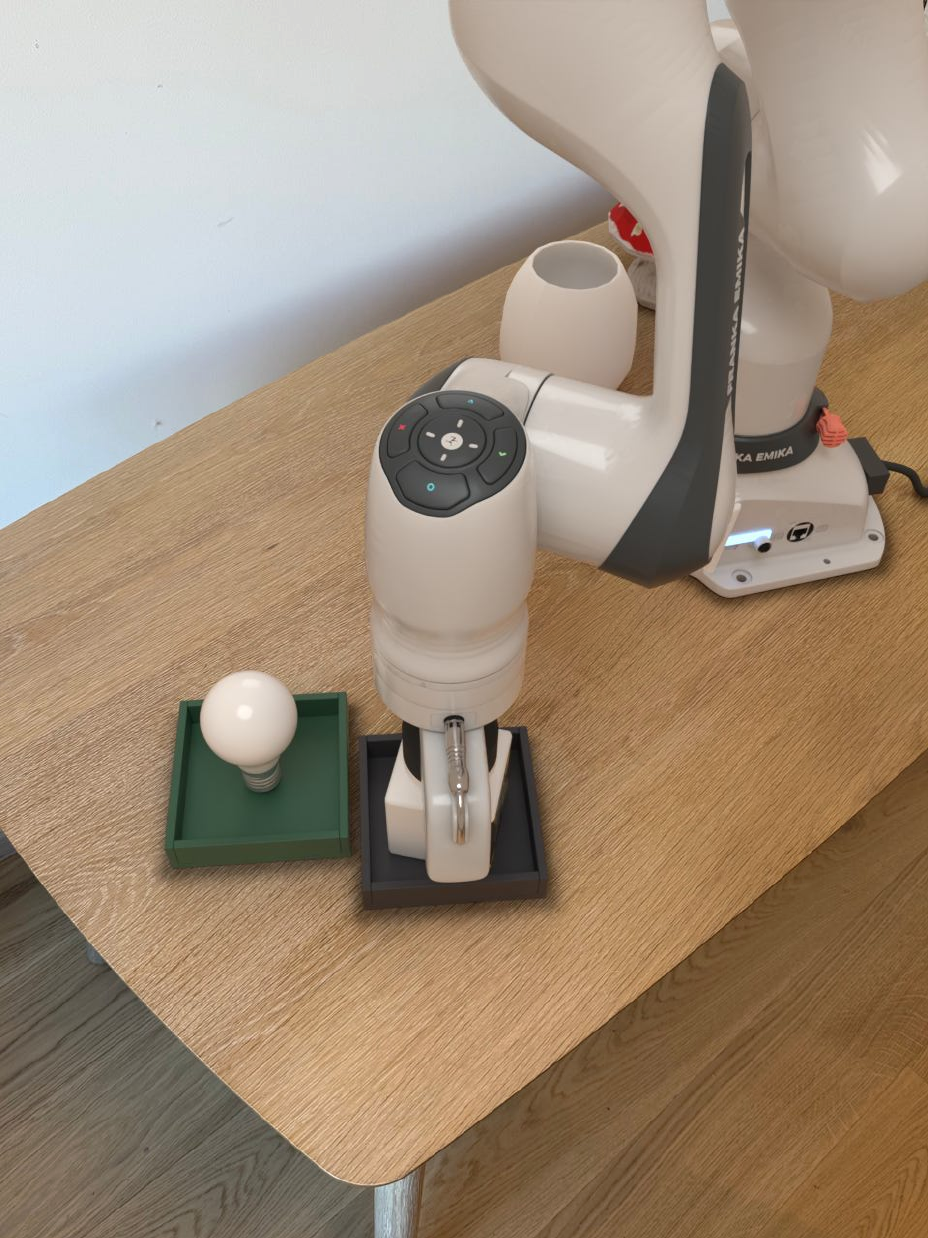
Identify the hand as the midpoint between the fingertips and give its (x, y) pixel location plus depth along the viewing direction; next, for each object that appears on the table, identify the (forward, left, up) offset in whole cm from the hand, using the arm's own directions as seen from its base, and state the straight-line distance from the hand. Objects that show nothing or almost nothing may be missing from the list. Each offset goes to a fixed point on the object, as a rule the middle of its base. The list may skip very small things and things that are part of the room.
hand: (446, 782), depth 73 cm
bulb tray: (+13, -4, -5) cm, 14 cm away
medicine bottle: (0, 0, -5) cm, 5 cm away
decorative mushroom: (-28, -64, -6) cm, 70 cm away
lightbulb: (+13, -4, -5) cm, 14 cm away
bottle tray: (0, 0, -5) cm, 5 cm away
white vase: (-15, -49, -6) cm, 51 cm away
